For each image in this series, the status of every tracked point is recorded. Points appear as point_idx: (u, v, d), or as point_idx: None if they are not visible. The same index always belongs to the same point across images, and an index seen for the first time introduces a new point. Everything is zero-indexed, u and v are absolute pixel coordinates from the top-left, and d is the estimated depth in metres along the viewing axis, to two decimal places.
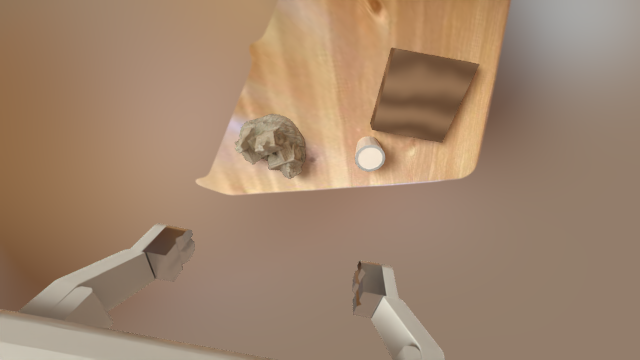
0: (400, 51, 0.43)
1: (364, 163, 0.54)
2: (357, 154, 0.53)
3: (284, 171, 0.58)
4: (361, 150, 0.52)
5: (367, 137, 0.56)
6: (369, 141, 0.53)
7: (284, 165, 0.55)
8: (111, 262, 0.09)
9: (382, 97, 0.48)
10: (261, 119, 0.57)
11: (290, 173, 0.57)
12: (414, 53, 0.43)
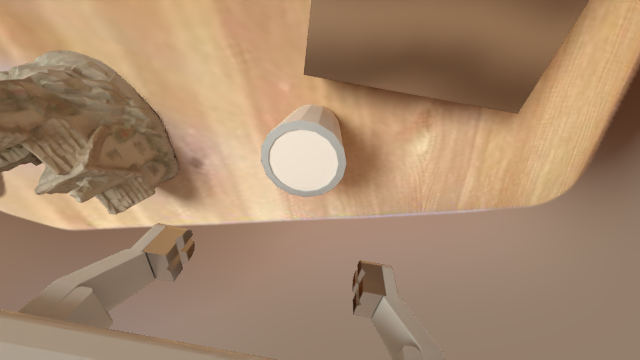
0: None
1: (290, 176, 0.19)
2: (265, 150, 0.18)
3: None
4: (273, 138, 0.17)
5: (307, 106, 0.22)
6: (303, 113, 0.19)
7: (81, 183, 0.21)
8: (111, 262, 0.09)
9: None
10: None
11: (111, 202, 0.23)
12: None
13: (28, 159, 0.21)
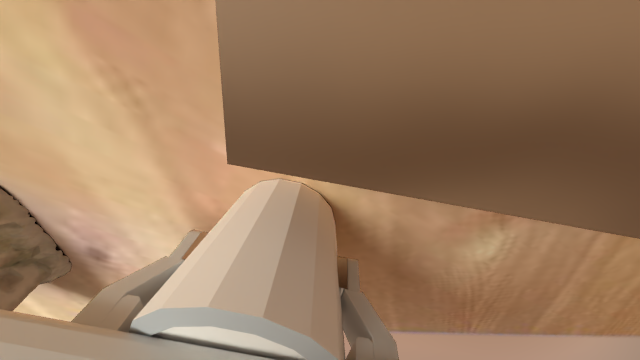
0: None
1: None
2: None
3: None
4: (149, 331, 0.06)
5: (266, 189, 0.11)
6: (241, 237, 0.08)
7: None
8: (153, 270, 0.09)
9: None
10: None
11: None
12: None
13: None
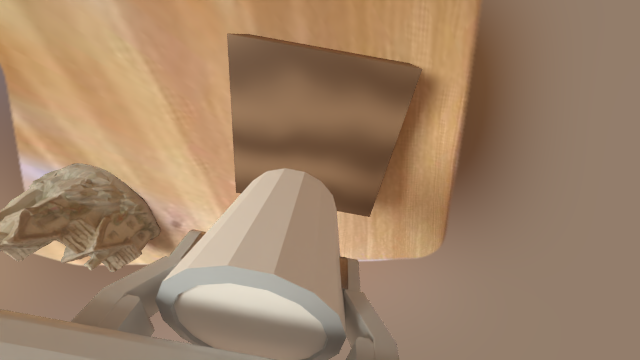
0: (240, 40, 0.19)
1: (229, 342, 0.09)
2: (163, 308, 0.08)
3: None
4: (175, 291, 0.07)
5: (273, 177, 0.12)
6: (252, 215, 0.09)
7: (91, 254, 0.32)
8: (153, 270, 0.09)
9: (235, 136, 0.23)
10: (58, 173, 0.33)
11: (111, 264, 0.33)
12: (272, 44, 0.19)
13: None
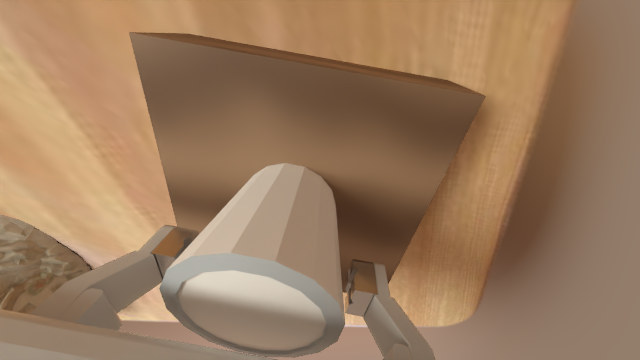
0: (153, 43, 0.10)
1: (230, 330, 0.09)
2: (167, 296, 0.08)
3: None
4: (180, 279, 0.08)
5: (273, 171, 0.12)
6: (254, 206, 0.09)
7: None
8: (120, 264, 0.09)
9: (172, 194, 0.15)
10: None
11: None
12: (212, 52, 0.10)
13: None
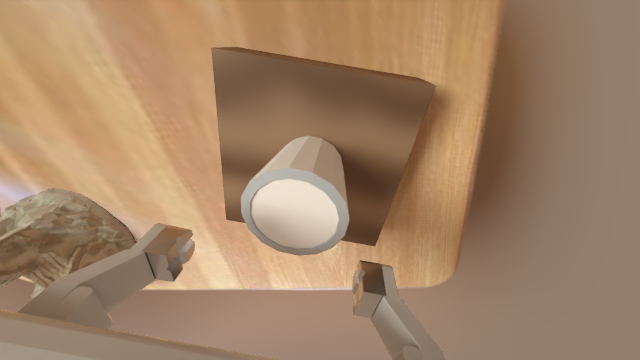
0: (226, 54, 0.16)
1: (278, 231, 0.15)
2: (245, 202, 0.14)
3: None
4: (255, 188, 0.13)
5: (302, 139, 0.18)
6: (294, 153, 0.15)
7: None
8: (111, 262, 0.09)
9: (223, 160, 0.21)
10: (33, 199, 0.31)
11: None
12: (263, 59, 0.16)
13: None
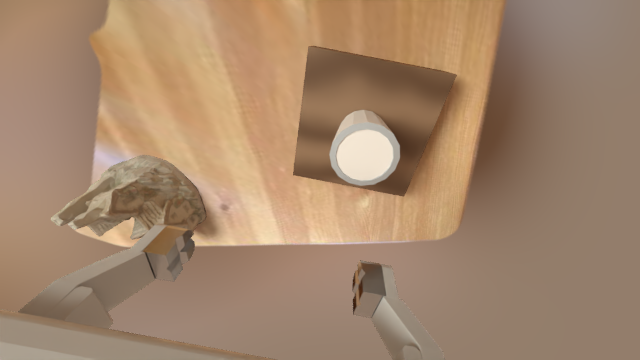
0: (317, 51, 0.25)
1: (351, 167, 0.23)
2: (334, 145, 0.22)
3: None
4: (343, 136, 0.22)
5: (360, 111, 0.26)
6: (364, 117, 0.23)
7: None
8: (111, 262, 0.09)
9: (300, 127, 0.29)
10: (127, 163, 0.39)
11: None
12: (342, 54, 0.25)
13: (126, 219, 0.37)
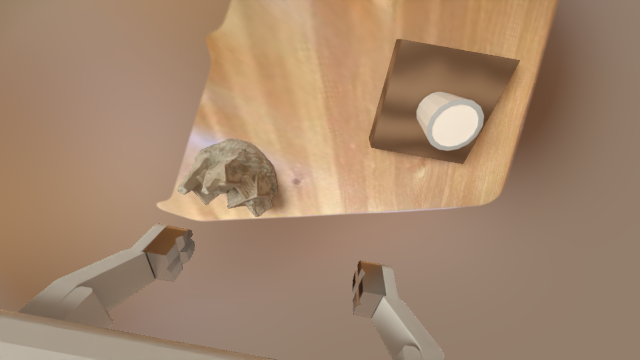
0: (409, 43, 0.31)
1: (442, 136, 0.30)
2: (432, 119, 0.29)
3: None
4: (441, 111, 0.28)
5: (439, 92, 0.33)
6: (451, 96, 0.30)
7: (247, 202, 0.45)
8: (111, 262, 0.09)
9: (384, 106, 0.36)
10: (218, 146, 0.46)
11: (256, 210, 0.46)
12: (429, 46, 0.31)
13: None
